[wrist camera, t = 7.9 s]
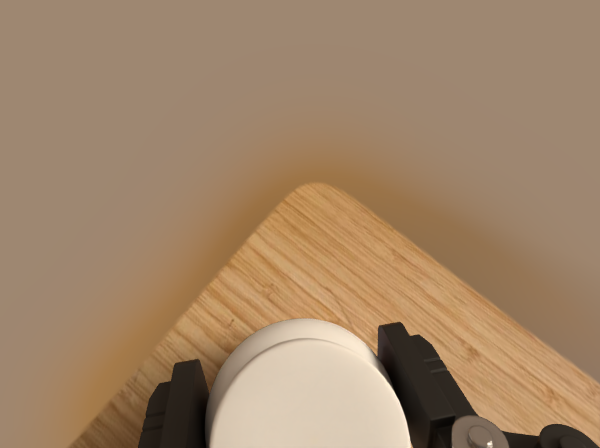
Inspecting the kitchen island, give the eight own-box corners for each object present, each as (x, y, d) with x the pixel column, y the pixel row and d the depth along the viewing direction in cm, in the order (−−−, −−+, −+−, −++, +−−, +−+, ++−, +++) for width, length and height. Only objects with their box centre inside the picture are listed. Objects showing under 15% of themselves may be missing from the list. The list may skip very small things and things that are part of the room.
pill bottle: (375, 385, 19) (498, 440, 8) (294, 484, 18) (318, 706, 7) (293, 302, 20) (310, 259, 10) (209, 389, 19) (117, 453, 8)
